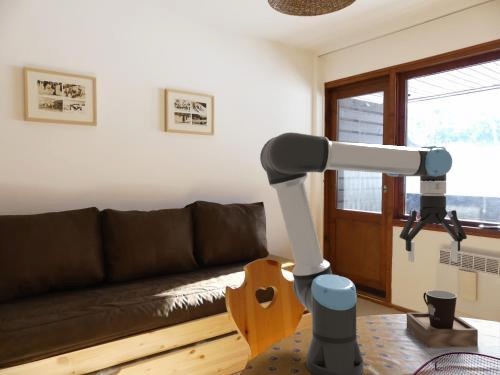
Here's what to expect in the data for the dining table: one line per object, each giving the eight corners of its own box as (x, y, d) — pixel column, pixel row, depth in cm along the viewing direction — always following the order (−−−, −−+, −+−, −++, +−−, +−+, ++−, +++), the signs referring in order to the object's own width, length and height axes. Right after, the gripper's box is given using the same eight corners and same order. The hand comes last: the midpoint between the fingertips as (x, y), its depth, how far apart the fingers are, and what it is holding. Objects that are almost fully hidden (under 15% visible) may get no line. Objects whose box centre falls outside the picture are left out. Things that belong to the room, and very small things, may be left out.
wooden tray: (427, 347, 114) (427, 330, 114) (406, 327, 129) (406, 312, 129) (477, 346, 114) (477, 329, 114) (451, 326, 129) (451, 312, 129)
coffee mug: (460, 332, 114) (460, 299, 114) (430, 330, 116) (429, 297, 116) (449, 318, 126) (449, 287, 126) (421, 316, 128) (421, 286, 127)
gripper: (397, 195, 118) (397, 264, 118) (479, 195, 117) (479, 263, 118) (389, 194, 125) (389, 258, 126) (466, 194, 125) (465, 258, 125)
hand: (432, 261), depth 122 cm, fingers open, 13 cm apart
